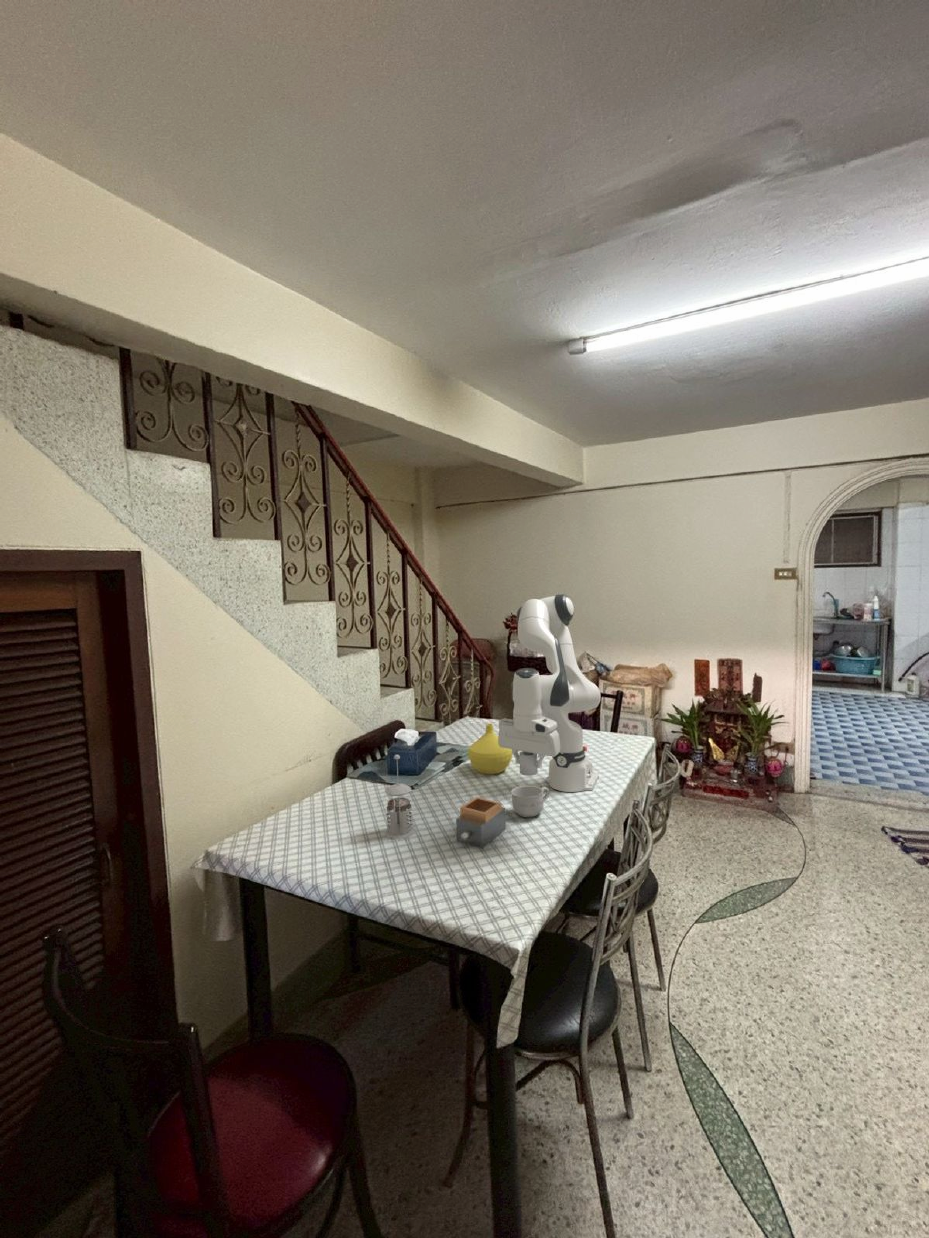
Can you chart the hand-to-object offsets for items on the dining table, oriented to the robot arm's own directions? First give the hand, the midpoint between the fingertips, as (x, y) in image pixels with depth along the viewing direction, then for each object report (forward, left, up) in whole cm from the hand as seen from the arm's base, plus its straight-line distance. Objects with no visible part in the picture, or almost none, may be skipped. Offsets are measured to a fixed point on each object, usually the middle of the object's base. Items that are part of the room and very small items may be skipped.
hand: (528, 765), depth 169 cm
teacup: (-11, -5, -21) cm, 24 cm away
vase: (-38, -38, -21) cm, 58 cm away
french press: (+23, -34, -21) cm, 46 cm away
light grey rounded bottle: (0, 0, -2) cm, 2 cm away
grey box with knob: (+13, -11, -21) cm, 27 cm away
